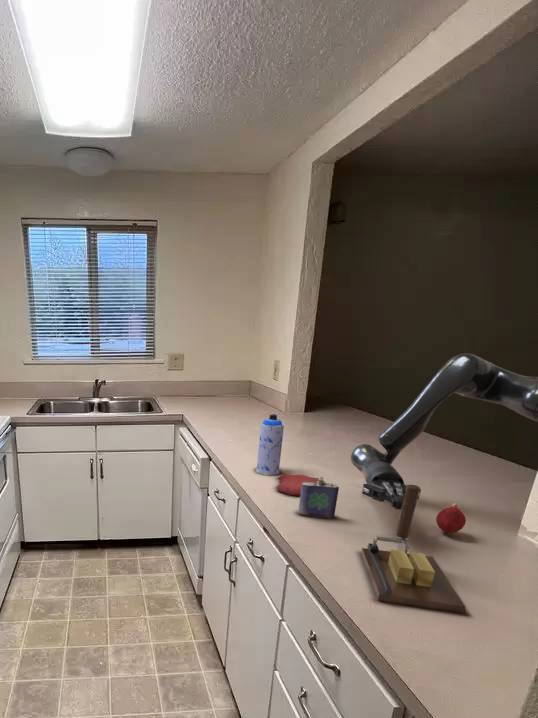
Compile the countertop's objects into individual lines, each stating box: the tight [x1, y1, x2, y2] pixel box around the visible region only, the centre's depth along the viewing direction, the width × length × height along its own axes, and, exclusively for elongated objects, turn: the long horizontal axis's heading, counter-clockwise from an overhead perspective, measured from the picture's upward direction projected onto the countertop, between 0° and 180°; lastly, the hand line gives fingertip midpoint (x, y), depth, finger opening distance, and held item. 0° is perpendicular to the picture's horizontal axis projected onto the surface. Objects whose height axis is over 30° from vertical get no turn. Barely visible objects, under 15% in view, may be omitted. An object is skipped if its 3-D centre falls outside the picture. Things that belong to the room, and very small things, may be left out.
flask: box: [297, 476, 340, 519], centre depth 116 cm, size 9×3×11 cm, turn 75°
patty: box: [276, 473, 319, 497], centre depth 136 cm, size 18×14×2 cm
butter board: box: [360, 547, 466, 614], centre depth 88 cm, size 14×18×5 cm
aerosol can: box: [255, 413, 285, 476], centre depth 148 cm, size 8×8×20 cm
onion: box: [435, 503, 467, 535], centre depth 106 cm, size 6×6×8 cm
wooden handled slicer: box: [367, 484, 421, 554], centre depth 92 cm, size 8×6×16 cm
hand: (400, 505), depth 97 cm, fingers closed
